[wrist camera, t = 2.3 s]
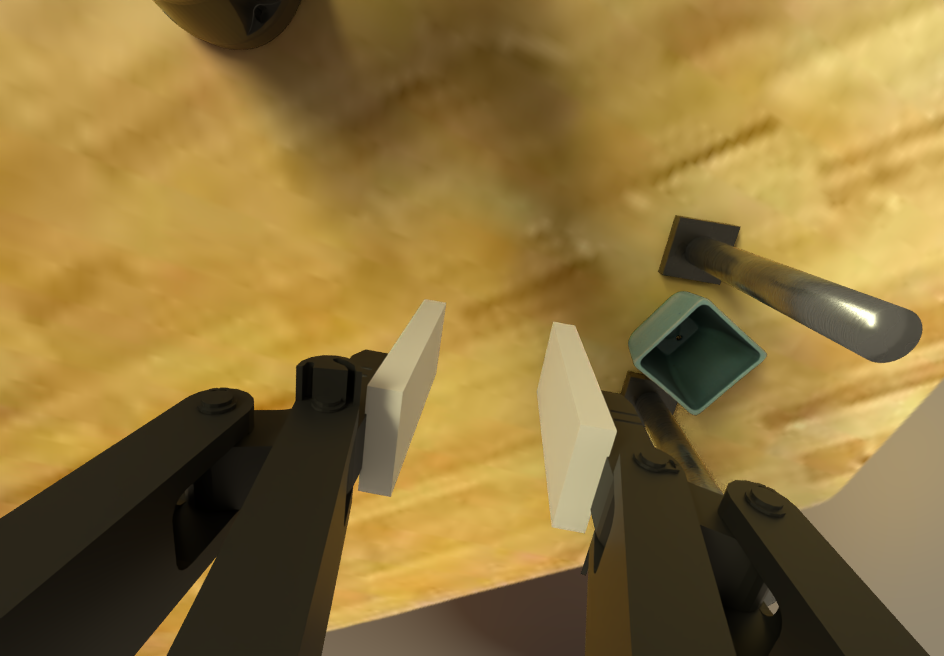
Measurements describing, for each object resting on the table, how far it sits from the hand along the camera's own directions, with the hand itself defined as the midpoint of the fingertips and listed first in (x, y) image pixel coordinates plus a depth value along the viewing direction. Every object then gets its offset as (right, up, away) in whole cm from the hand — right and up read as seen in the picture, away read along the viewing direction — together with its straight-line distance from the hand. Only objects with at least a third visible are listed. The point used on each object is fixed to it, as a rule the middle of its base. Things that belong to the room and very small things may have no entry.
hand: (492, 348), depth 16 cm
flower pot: (+21, +1, +35) cm, 41 cm away
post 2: (+23, +9, +32) cm, 40 cm away
